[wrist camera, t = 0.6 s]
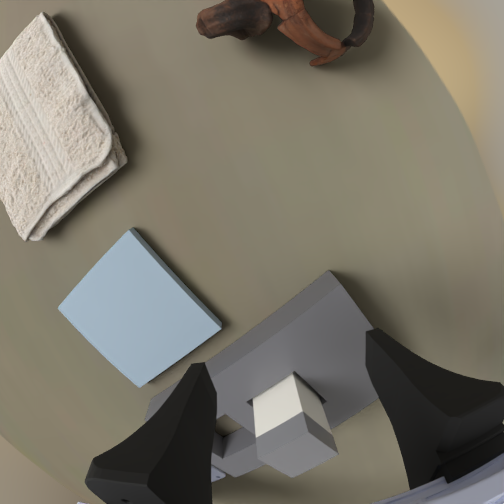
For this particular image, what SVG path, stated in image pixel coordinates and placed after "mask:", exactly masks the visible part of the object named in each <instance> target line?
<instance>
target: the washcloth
mask: <svg viewBox="0 0 504 504" xmlns="http://www.w3.org/2000/svg"><path fill="white" fill-rule="evenodd" d="M121 146H122V145H121V144H120V140H119V136H118V134H117V133H115V131H114V126H112V124H111V121H110V118H109V116H108V114H107V112H106V111H105V109H104V107H103V105H102V104H101V102H100V101H99V99H98V97H97V95H96V94H95V92H94V90H93V89H92V87H91V85H90V83H89V82H88V80H87V78H86V76H85V74H84V73H83V71H82V69H81V67H80V66H79V64H78V62H77V61H76V59H75V57H74V56H73V54H72V52H71V50H70V49H69V48H68V46H67V43H66V42H65V40H64V38H63V36H62V34H61V32H60V30H59V28H58V26H57V24H56V23H55V22H54V20H53V19H52V18H51V17H50V16H49V15H48V14H47V13H45V12H41V14H40V15H39V16H36V17H35V19H34V20H33V21H32V22H31V23H30V24H29V25H28V26H27V27H26V28H25V29H24V30H23V31H22V32H21V33H20V35H19V36H18V37H17V38H16V39H15V41H14V42H13V44H12V46H11V47H10V48H9V49H8V50H7V51H6V52H5V54H4V55H3V56H2V58H1V59H0V197H1V200H2V201H3V204H4V205H5V206H6V210H7V213H8V215H9V217H10V220H11V221H12V224H13V226H14V227H15V228H16V229H17V232H18V234H19V236H21V237H22V239H23V240H24V241H25V242H27V241H29V240H32V241H40V240H44V239H43V237H44V236H45V235H46V233H47V231H48V230H49V229H50V228H53V227H54V226H55V225H56V224H58V223H59V222H60V221H61V220H62V219H63V218H64V217H65V216H66V215H68V214H69V213H70V212H71V211H72V210H73V209H74V208H75V206H76V205H77V204H78V203H79V202H81V201H82V200H83V199H84V198H85V197H86V196H88V195H89V194H90V193H91V192H92V191H93V190H95V189H96V188H97V187H98V186H100V185H101V184H102V183H104V182H105V181H106V180H107V179H109V178H110V177H111V176H112V175H113V174H114V173H116V172H117V171H118V170H119V169H120V168H121V167H122V166H123V165H125V164H126V163H127V157H126V155H125V151H124V150H123V149H122V147H121Z"/></svg>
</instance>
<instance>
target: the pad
mask: <svg viewBox="0 0 504 504" xmlns="http://www.w3.org/2000/svg"><path fill="white" fill-rule="evenodd" d="M58 309H59V310H60V311H61V312H62V313H63V314H64V316H65V317H66V318H67V319H68V320H69V321H70V322H71V323H72V324H73V325H74V326H75V328H76V329H77V330H78V331H79V332H80V333H81V334H82V335H83V336H84V337H85V338H86V339H87V340H88V341H89V342H90V343H91V344H92V345H93V346H94V347H95V348H96V349H97V350H98V351H99V352H100V353H101V354H102V355H103V356H104V357H105V358H106V359H108V360H109V361H110V362H111V363H112V364H113V365H114V366H115V367H116V368H117V369H118V370H119V371H121V372H122V373H123V374H124V375H125V376H126V377H127V378H128V379H130V380H131V381H132V382H133V383H134V384H135V385H137V386H138V387H139V388H140V387H141V386H143V385H144V384H146V383H147V382H149V381H150V380H151V379H153V378H154V377H156V376H157V375H159V374H160V373H161V372H163V371H164V370H166V369H167V368H168V367H170V366H171V365H173V364H174V363H175V362H177V361H178V360H180V359H181V358H182V357H184V356H185V355H186V354H188V353H189V352H191V351H192V350H193V349H195V348H196V347H197V346H199V345H200V344H201V343H203V342H204V341H206V340H207V339H208V338H210V337H211V336H212V335H214V334H215V333H216V332H218V331H219V330H220V329H221V327H222V322H221V321H220V320H219V319H218V318H217V317H216V316H215V315H214V314H213V313H212V312H211V311H210V310H209V309H208V308H207V307H206V306H205V305H204V304H203V303H202V302H201V301H200V300H199V299H198V298H197V297H196V296H195V295H194V294H193V293H192V292H191V291H190V289H189V288H188V287H187V286H186V285H185V284H184V283H183V282H182V281H181V280H180V279H179V278H178V277H177V276H176V275H175V274H174V272H173V271H172V270H171V269H170V268H169V267H168V266H167V265H166V264H165V263H164V262H163V260H162V259H161V258H160V257H159V256H158V255H157V254H156V253H155V252H154V251H153V249H152V248H151V247H150V246H149V245H148V244H147V243H146V242H145V240H144V239H143V238H142V237H141V236H140V235H139V234H138V232H137V231H136V230H135V229H134V228H131V229H129V230H128V231H127V232H126V233H125V234H124V235H123V236H122V237H121V238H120V239H119V240H118V241H117V242H116V243H115V244H114V245H113V246H112V247H111V249H110V250H109V251H108V252H107V253H106V254H105V255H104V256H103V257H102V258H101V259H100V260H99V261H98V262H97V263H96V265H95V266H94V267H93V268H92V269H91V270H90V271H89V272H88V273H87V274H86V276H85V277H84V278H83V279H82V280H81V281H80V282H79V284H78V285H77V286H76V287H75V288H74V289H73V290H72V292H71V293H70V294H69V295H68V296H67V297H66V299H65V300H64V301H63V302H62V303H61V305H60V306H59V307H58Z"/></svg>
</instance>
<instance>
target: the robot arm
mask: <svg viewBox="0 0 504 504" xmlns="http://www.w3.org/2000/svg"><path fill="white" fill-rule="evenodd" d="M365 366H366V368H367V371H368V374H369V377H370V380H371V383H372V385H373V387H374V389H375V391H376V393H377V395H378V397H379V399H380V401H381V403H382V405H383V407H384V409H385V411H386V413H387V415H388V417H389V419H390V421H391V424H392V426H393V429H394V432H395V435H396V438H397V441H398V444H399V447H400V451H401V454H402V457H403V461H404V465H405V469H406V473H407V477H408V482H409V487H410V491H407V492H404V493H402V494H399V495H396V496H393V497H390V498H387V499H384V500H381V501H378V502H374V503H371V504H503V503H504V425H503V423H502V422H503V420H504V386H503V385H502V384H501V383H500V382H492V381H485V380H479V379H475V378H470V377H466V376H463V375H460V374H457V373H454V372H451V371H448V370H446V369H443V368H441V367H439V366H437V365H435V364H432V363H430V362H428V361H427V360H425V359H423V358H421V357H420V356H418V355H416V354H414V353H413V352H411V351H410V350H408V349H407V348H405V347H404V346H402V345H401V344H400V343H398V342H397V341H395V340H394V339H393V338H391V337H390V336H389V335H387V334H386V333H384V332H383V331H382V330H380V329H379V328H376V329H372V330H369V331H366V353H365ZM216 417H217V392H216V389H215V387H214V385H213V382H212V380H211V377H210V375H209V372H208V370H207V367H206V365H205V362H203V363H194V364H191V366H190V367H189V368H188V370H187V371H186V373H185V374H184V376H183V377H182V379H181V380H180V382H179V383H178V385H177V386H176V387H175V389H174V390H173V392H172V393H171V394H170V396H169V397H168V398H167V400H166V401H165V402H164V403H163V405H162V406H161V407H160V408H159V409H158V411H157V412H156V413H155V414H154V415H153V416H152V417H151V418H150V419H149V420H148V421H147V422H146V423H145V424H144V425H143V426H142V427H140V428H139V429H138V430H137V431H136V432H134V433H133V434H132V435H131V436H130V437H128V438H127V439H125V440H124V441H123V442H121V443H120V444H118V445H117V446H115V447H113V448H112V449H110V450H108V451H106V452H104V453H103V454H101V455H99V456H97V457H95V458H93V460H92V463H91V465H90V468H89V471H88V473H87V476H86V479H85V484H86V485H87V487H88V488H89V489H90V490H91V491H92V492H93V493H94V494H95V495H97V496H98V497H99V498H100V499H101V500H103V501H104V502H105V503H107V504H212V487H211V482H213V481H216V480H219V479H221V478H224V477H225V476H226V474H225V473H224V472H223V471H221V470H219V469H217V468H216V467H214V466H212V465H211V457H212V447H213V440H214V432H215V425H216ZM77 504H87V503H83V502H78V503H77Z"/></svg>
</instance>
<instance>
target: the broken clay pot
mask: <svg viewBox="0 0 504 504" xmlns="http://www.w3.org/2000/svg"><path fill="white" fill-rule="evenodd" d="M353 4H354V9H355V12H356V14H355V17H354V24H353V30H352V33H351V34H350V35H349V36H348V37H347V38H345V39H344V40H343V41H342V42H341V41H340V40H339V39H336V38H334V37H332V36H330V35H328V34H326V33H324V32H323V31H322V30H321V29H320V28H319V27H318V26H317V25H316V24H315V23H314V21H313V20H312V18H311V17H310V15H309V14H308V12H307V11H306V9H305V8H304V3H303V0H225V1H223V2H222V3H220V4H217V5H215V6H212V7H210V8H207V9H204V10H202V11H201V12H200V13H199V14H198V16H197V23H196V27H197V29H198V32H199V33H200V34H201V35H204V36H206V37H207V38H210V39H212V38H215V37H219V36H225V35H231V36H234V37H236V38H238V39H240V40H244V39H246V38H247V37H249V36H250V37H253V36H255V35H261V34H263V33H264V32H265V31H266V30H267V29H268V28H269V27H270V26H271V24H272V21H273V16H272V13H274V14H276V15H278V16H279V17H280V18H281V19H282V20H283V21H282V22H281V24H279V25H278V27H277V28H278V29H279V31H281V32H282V33H283V34H285V35H286V36H287V37H289V38H290V39H292V40H293V41H294V42H295V43H296V44H298V45H299V46H302V47H303V48H305V49H307V50H308V51H310V52H311V53H313V54H316V55H319V56H321V57H318V58H316V59H314V60H312V61H311V62H310V65H311V66H316V65H321V64H324V63H327V62H331V61H333V60H335V59H337V58H338V57H339V56H342V55H343V54H344V53H345V52H346V51H347V50H348V49H349V48H350V47H351V46H354V47H359V46H361V45H362V44H363V43H364V42H365V40H366V39H367V37H368V36H369V34H370V32H371V30H372V27H373V21H374V17H373V15H374V4H373V0H353Z"/></svg>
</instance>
